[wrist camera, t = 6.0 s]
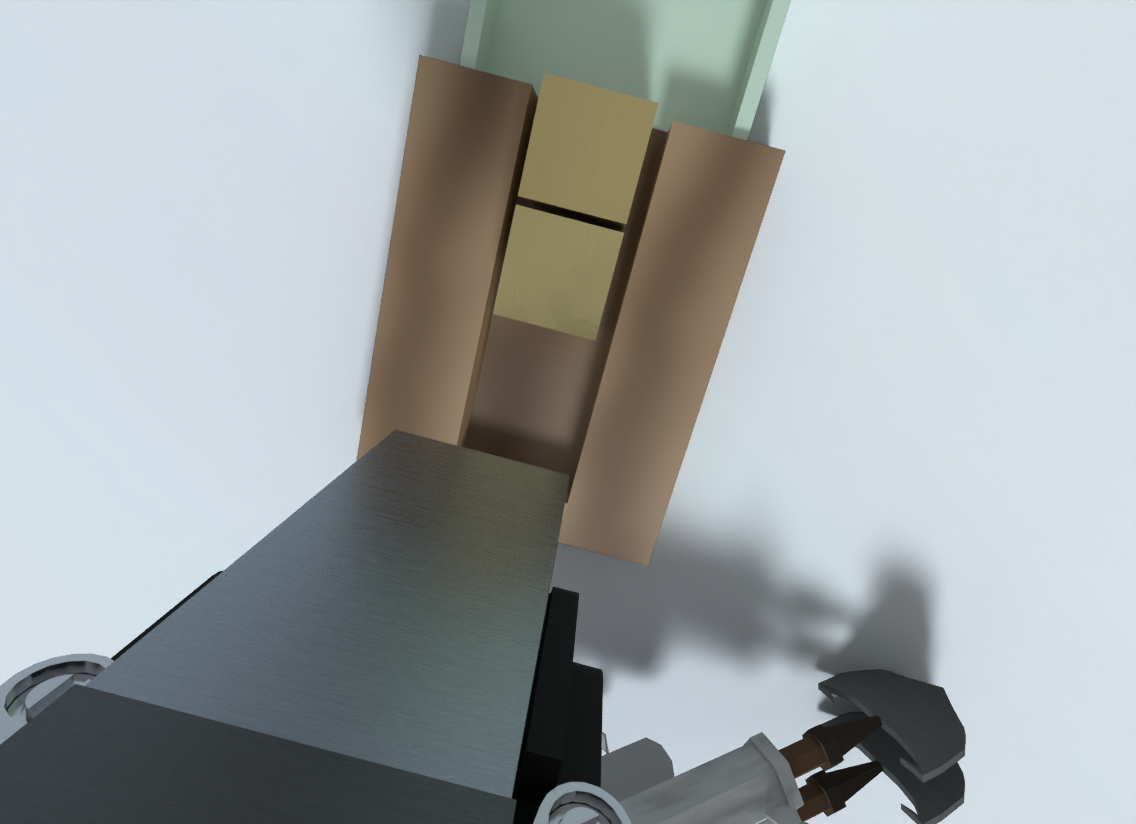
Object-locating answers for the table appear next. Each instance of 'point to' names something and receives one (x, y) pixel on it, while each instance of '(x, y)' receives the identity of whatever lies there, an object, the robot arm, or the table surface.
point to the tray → (637, 51)
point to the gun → (807, 763)
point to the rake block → (325, 665)
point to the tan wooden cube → (586, 150)
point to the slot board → (545, 356)
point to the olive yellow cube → (557, 272)
